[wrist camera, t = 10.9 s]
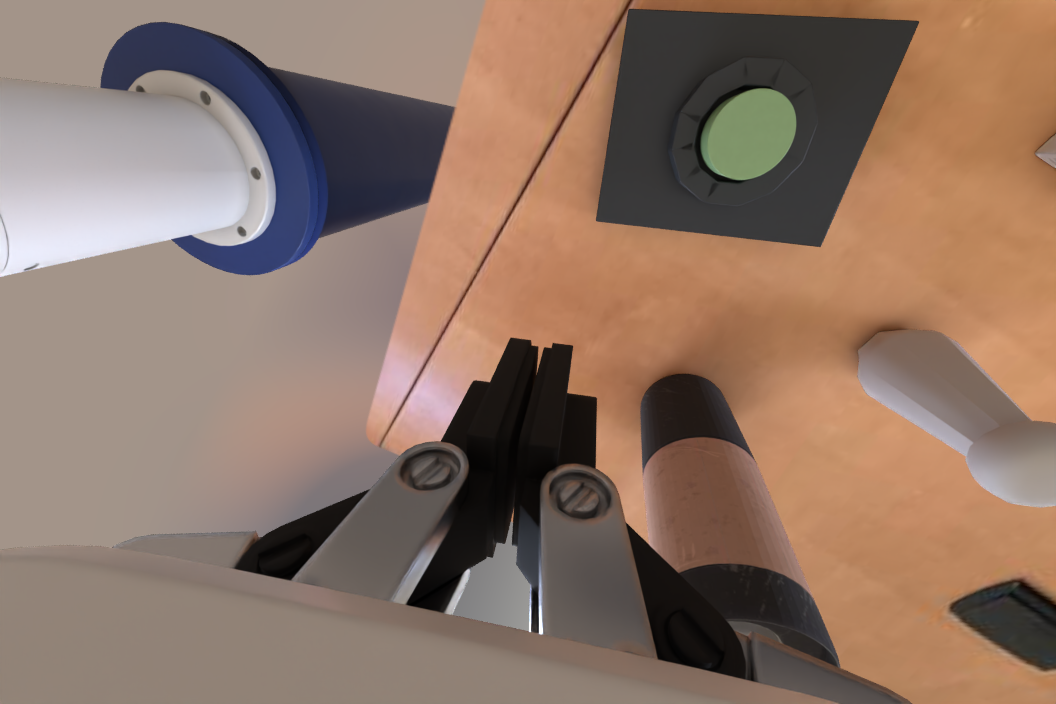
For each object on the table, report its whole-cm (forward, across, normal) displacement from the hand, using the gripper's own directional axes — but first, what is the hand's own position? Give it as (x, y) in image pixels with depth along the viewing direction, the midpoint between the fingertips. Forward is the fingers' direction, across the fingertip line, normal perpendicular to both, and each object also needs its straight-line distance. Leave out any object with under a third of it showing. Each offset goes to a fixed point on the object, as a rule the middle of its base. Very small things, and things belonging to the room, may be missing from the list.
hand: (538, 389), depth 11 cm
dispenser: (+22, -8, -7) cm, 24 cm away
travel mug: (+22, -11, +14) cm, 28 cm away
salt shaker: (+21, -24, +7) cm, 33 cm away
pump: (+17, -8, -7) cm, 20 cm away
